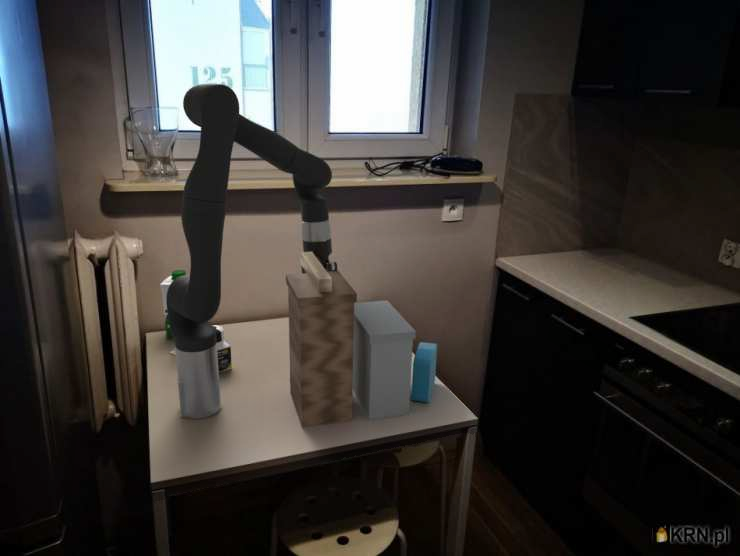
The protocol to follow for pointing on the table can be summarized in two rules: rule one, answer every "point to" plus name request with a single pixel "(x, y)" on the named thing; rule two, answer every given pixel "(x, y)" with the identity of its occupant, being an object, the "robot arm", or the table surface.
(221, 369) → the medicine bottle
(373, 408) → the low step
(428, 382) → the data package
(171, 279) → the milk carton
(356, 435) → the table surface
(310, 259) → the birch rod
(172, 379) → the table surface
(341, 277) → the wooden column with lip
